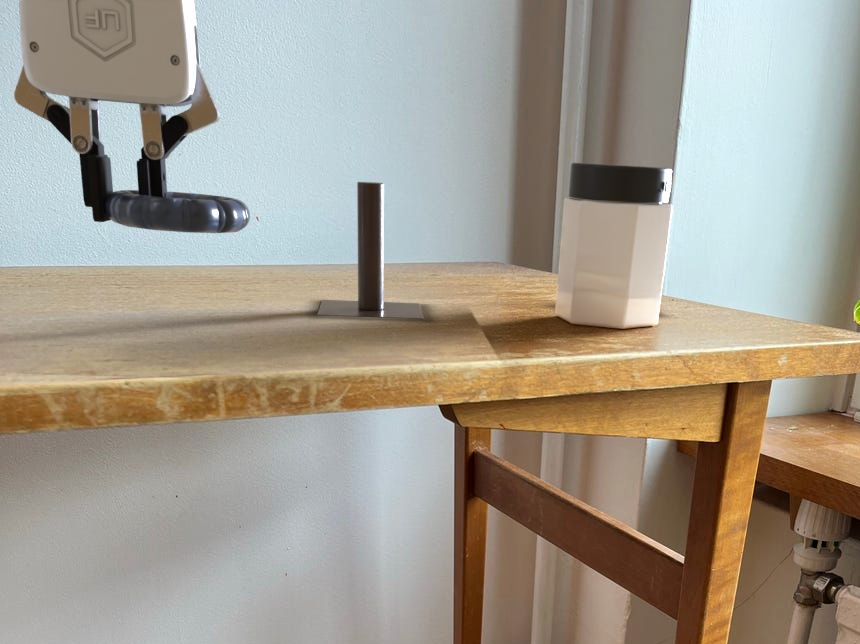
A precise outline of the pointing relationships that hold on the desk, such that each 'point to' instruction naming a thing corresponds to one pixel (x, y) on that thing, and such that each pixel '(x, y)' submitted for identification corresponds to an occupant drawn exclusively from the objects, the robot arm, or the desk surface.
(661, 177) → the jar
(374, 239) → the post
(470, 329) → the desk surface
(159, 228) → the ring
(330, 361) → the desk surface
